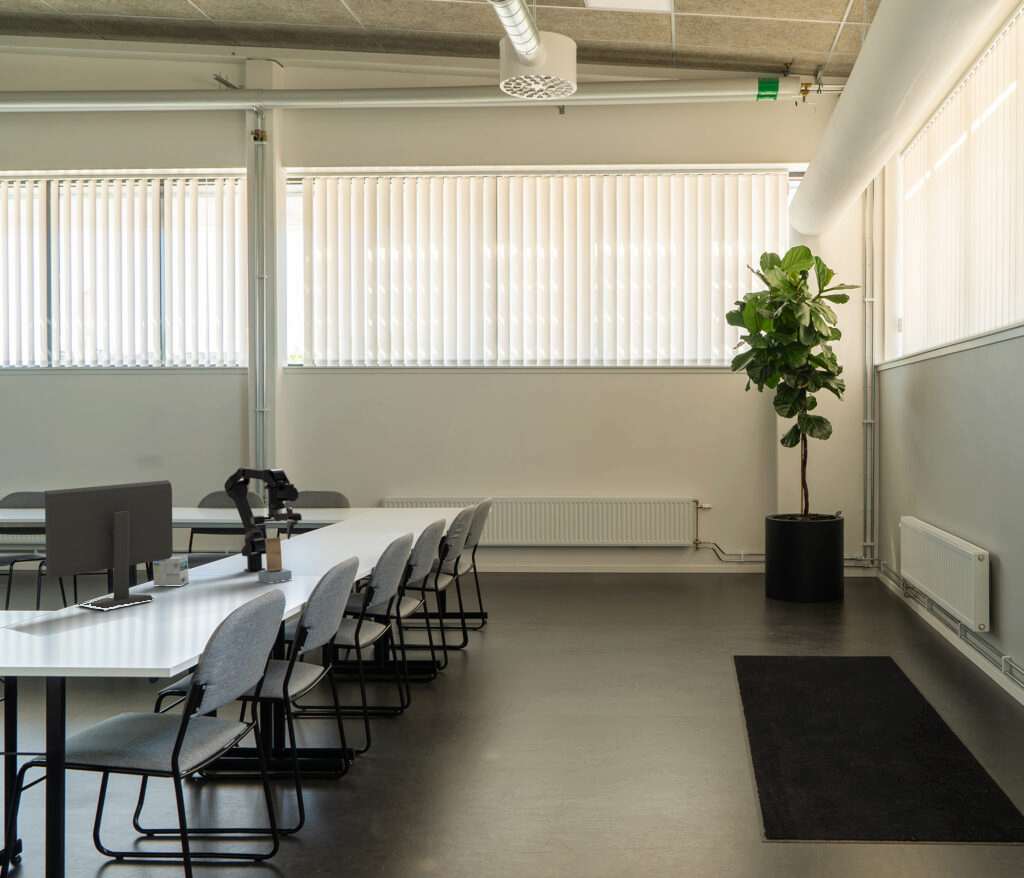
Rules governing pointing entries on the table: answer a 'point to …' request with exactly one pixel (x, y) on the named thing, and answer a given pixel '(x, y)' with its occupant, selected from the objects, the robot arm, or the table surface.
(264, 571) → the slate-blue block
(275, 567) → the walnut pillar
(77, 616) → the table surface
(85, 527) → the computer monitor
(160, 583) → the light bulb box
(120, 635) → the table surface
